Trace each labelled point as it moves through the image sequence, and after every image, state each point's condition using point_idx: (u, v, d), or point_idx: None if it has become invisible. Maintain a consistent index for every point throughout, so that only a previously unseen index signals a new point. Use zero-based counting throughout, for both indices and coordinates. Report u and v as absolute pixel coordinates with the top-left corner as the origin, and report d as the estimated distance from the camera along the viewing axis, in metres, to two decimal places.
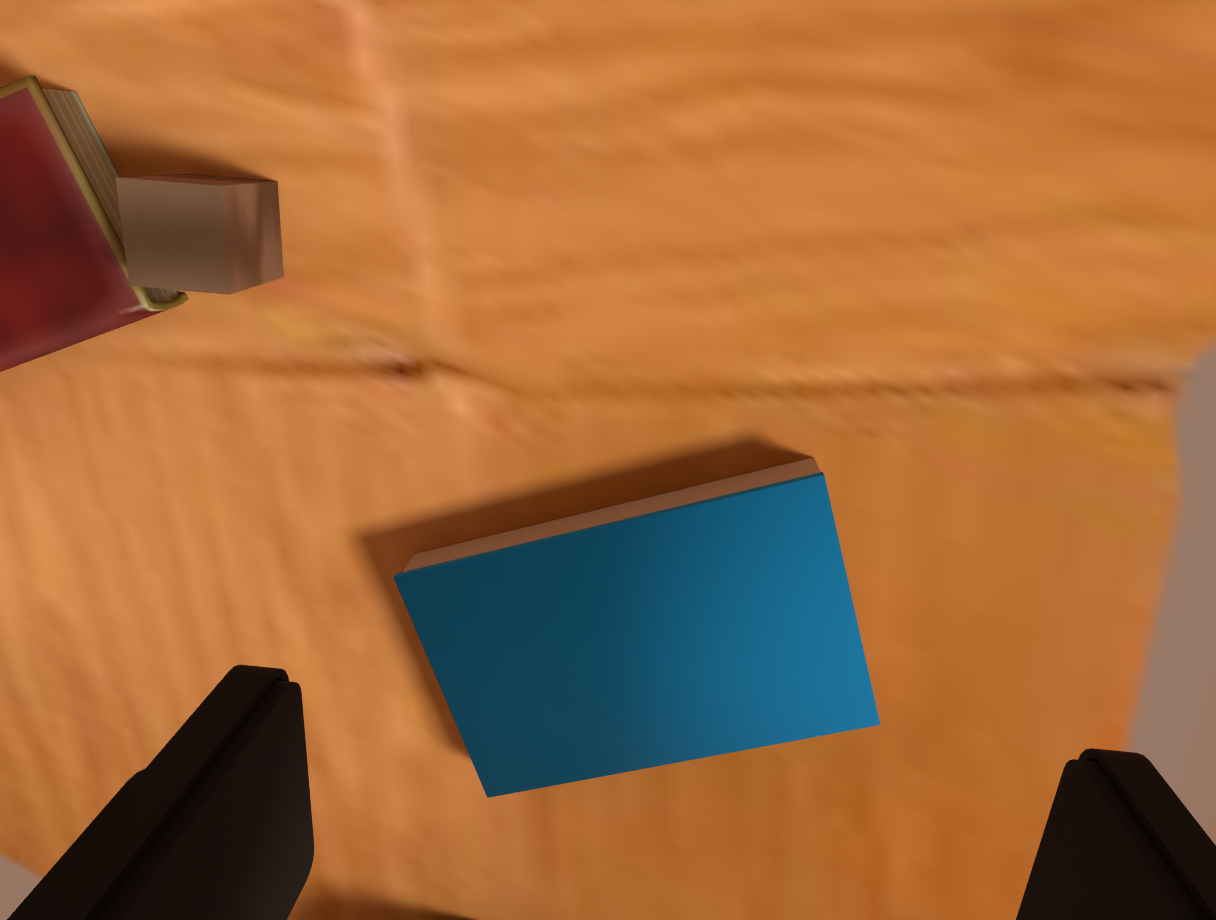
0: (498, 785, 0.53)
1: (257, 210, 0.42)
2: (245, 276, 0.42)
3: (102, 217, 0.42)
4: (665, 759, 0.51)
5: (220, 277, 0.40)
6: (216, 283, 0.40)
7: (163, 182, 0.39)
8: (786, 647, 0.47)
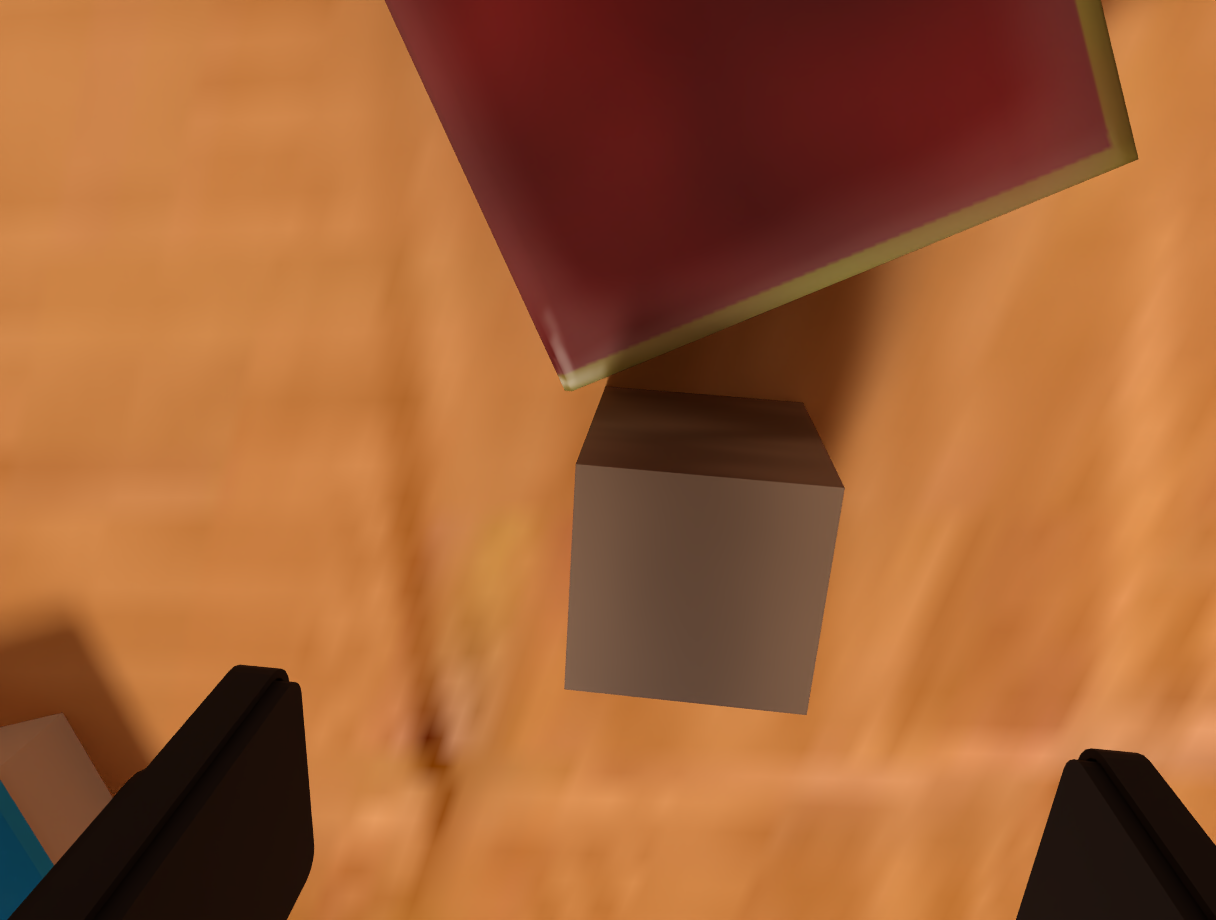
0: None
1: None
2: None
3: (779, 301, 0.17)
4: None
5: (602, 677, 0.17)
6: (589, 666, 0.17)
7: (823, 599, 0.16)
8: None
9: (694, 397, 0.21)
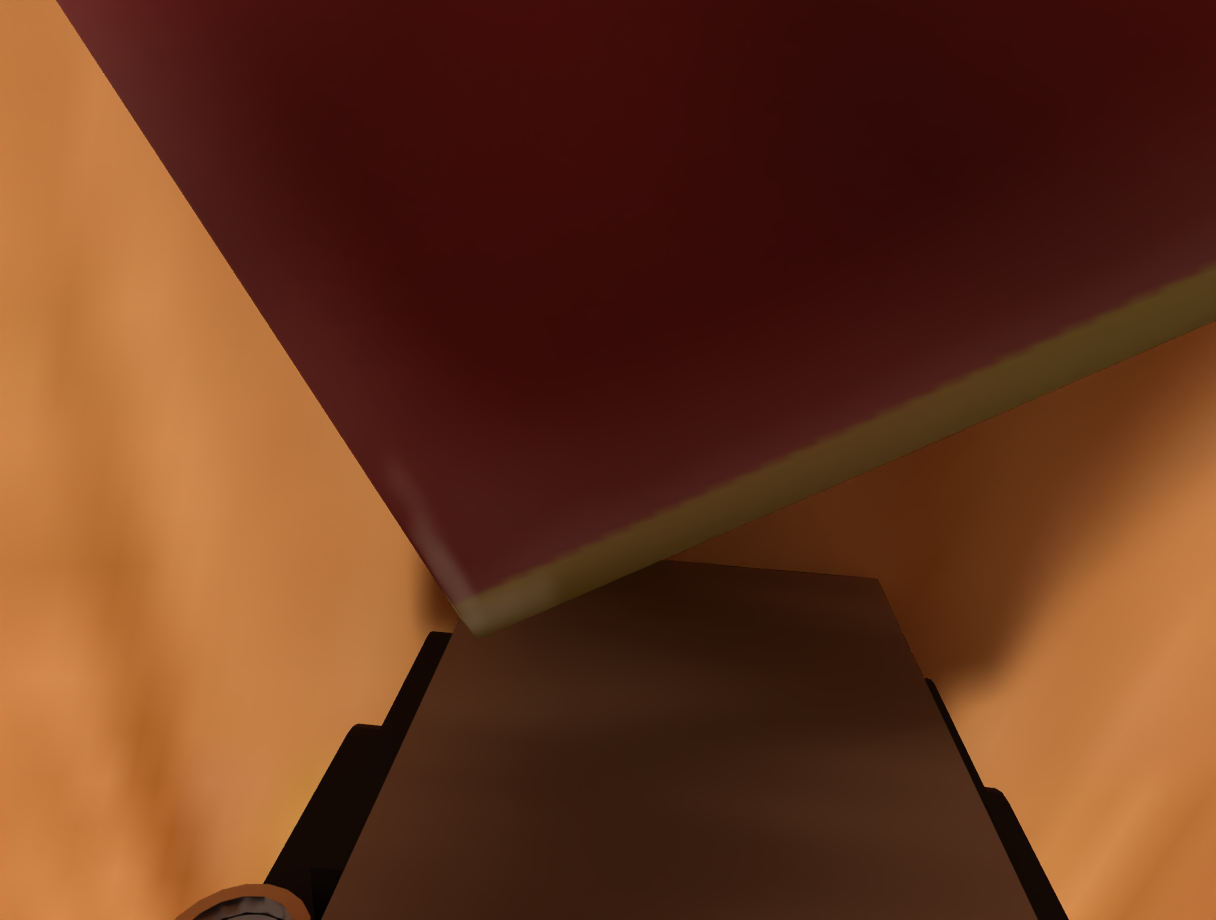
0: None
1: None
2: None
3: (991, 404, 0.06)
4: None
5: None
6: None
7: None
8: None
9: (665, 575, 0.10)
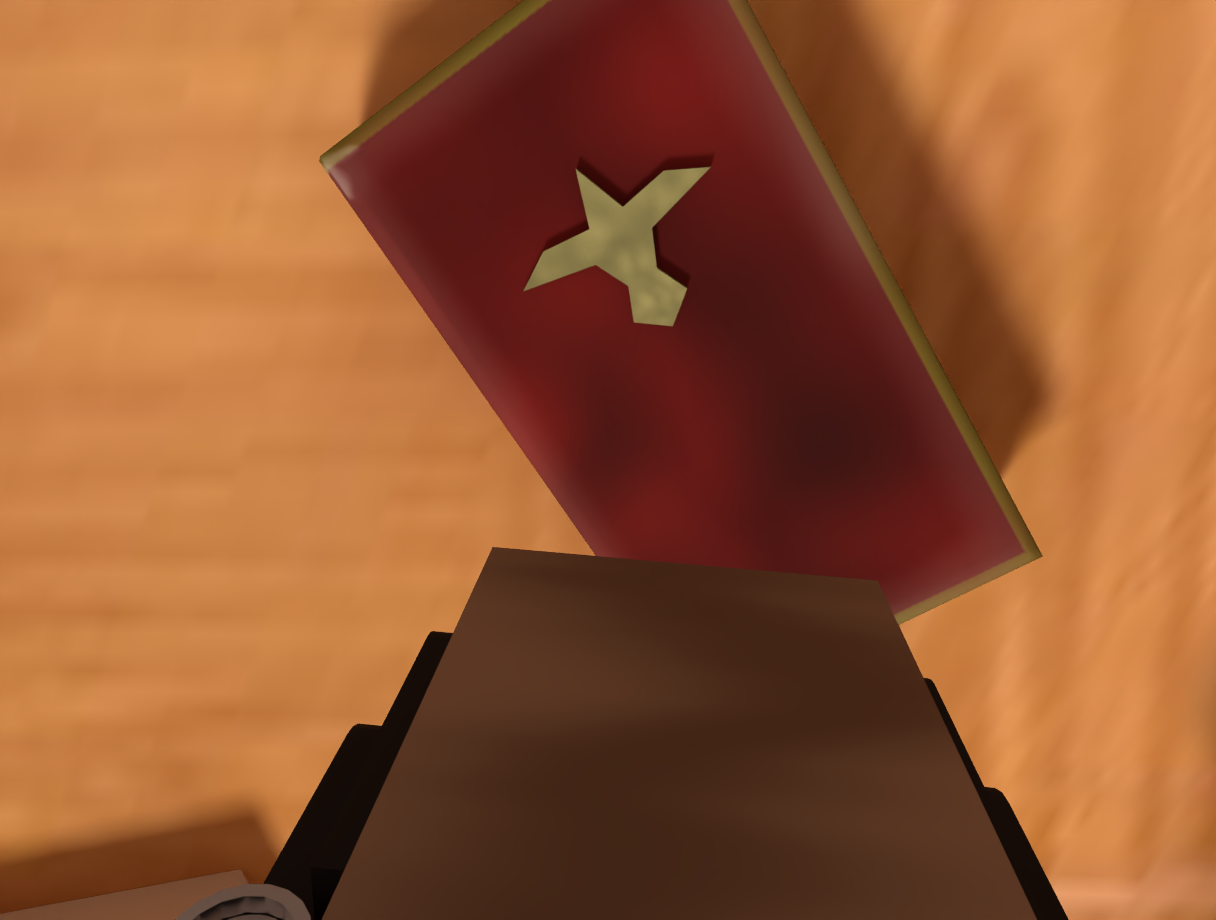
0: None
1: None
2: None
3: None
4: None
5: None
6: None
7: None
8: None
9: (664, 576, 0.10)
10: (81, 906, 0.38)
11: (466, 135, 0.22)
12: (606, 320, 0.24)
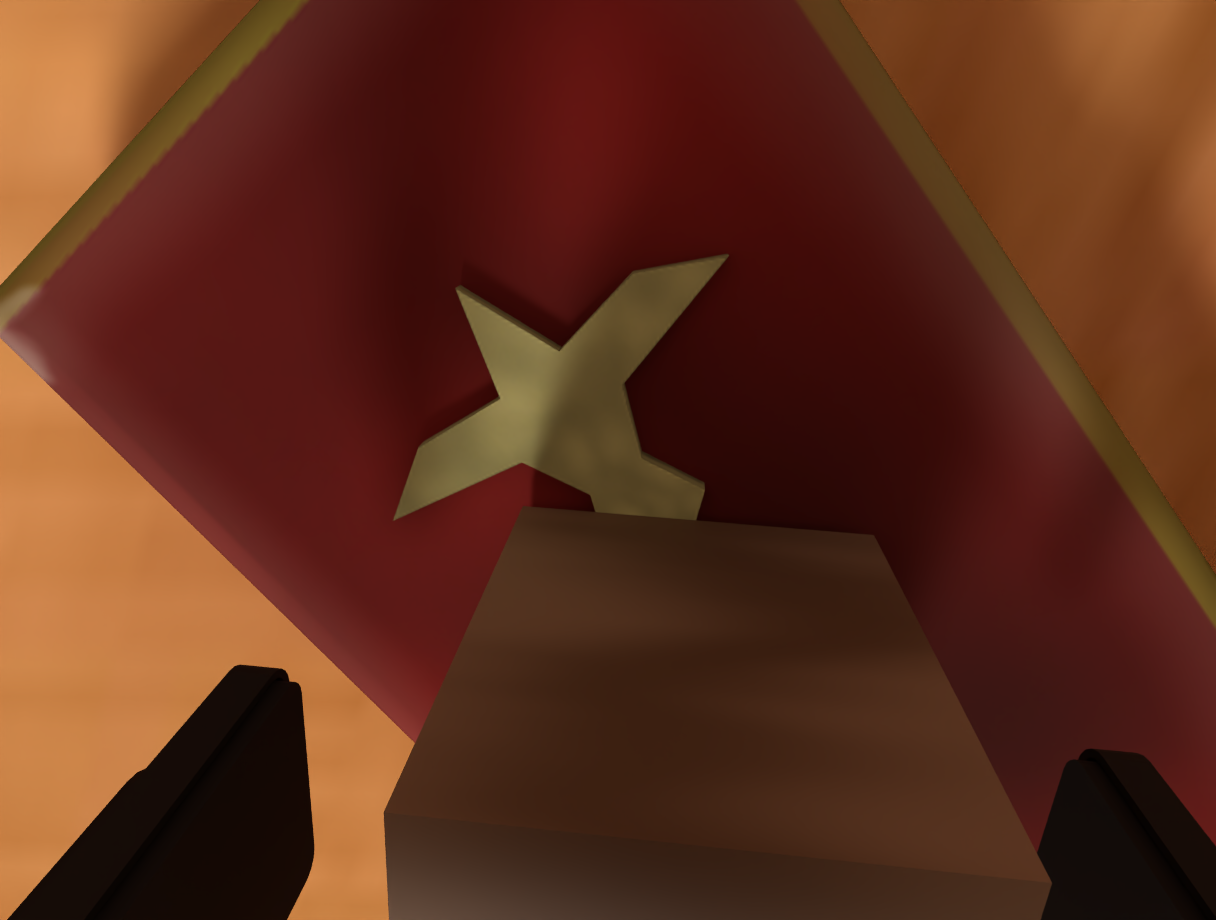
0: None
1: None
2: None
3: None
4: None
5: None
6: None
7: None
8: None
9: (680, 530, 0.12)
10: None
11: (236, 245, 0.11)
12: None
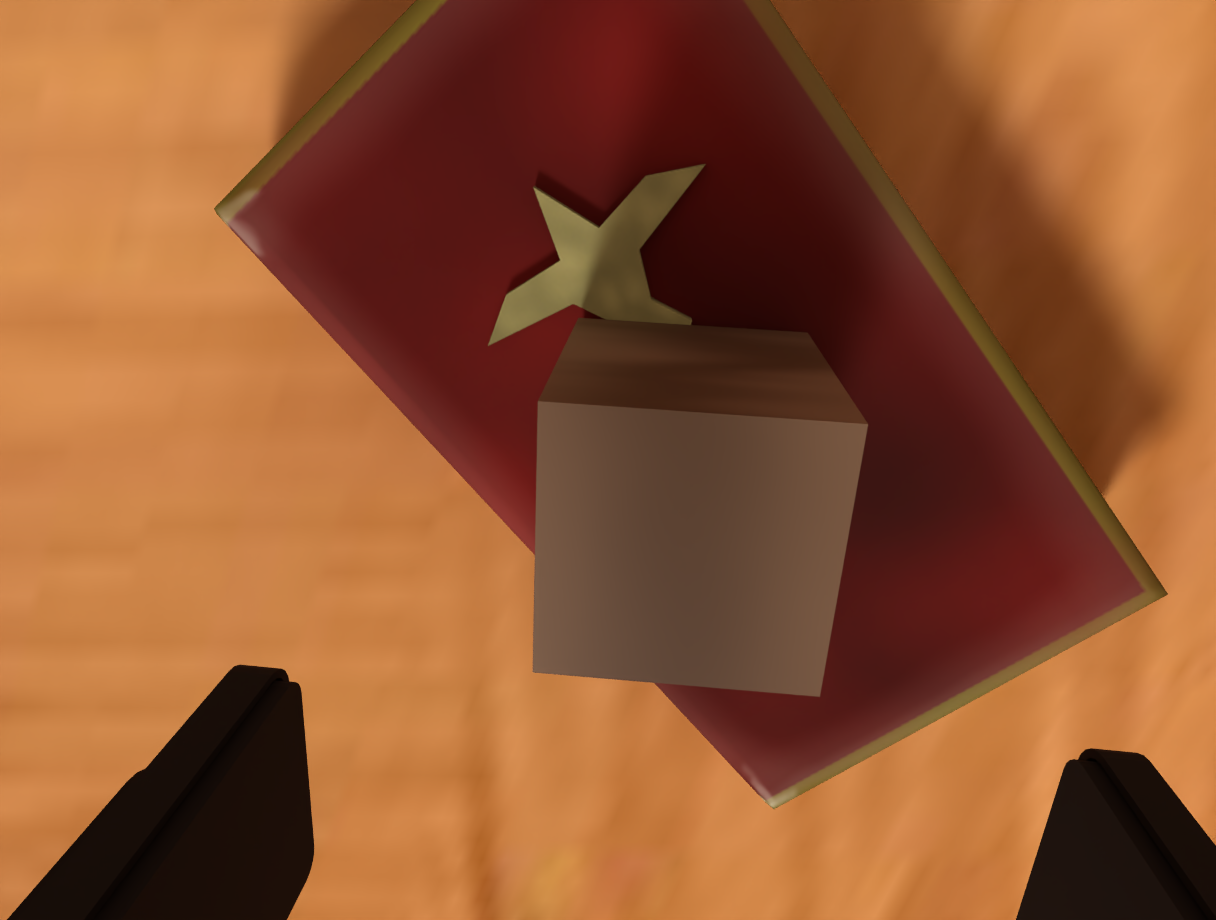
0: None
1: None
2: None
3: (917, 726, 0.22)
4: None
5: (577, 658, 0.14)
6: (561, 644, 0.14)
7: (841, 560, 0.13)
8: None
9: (682, 328, 0.18)
10: None
11: (390, 160, 0.18)
12: None
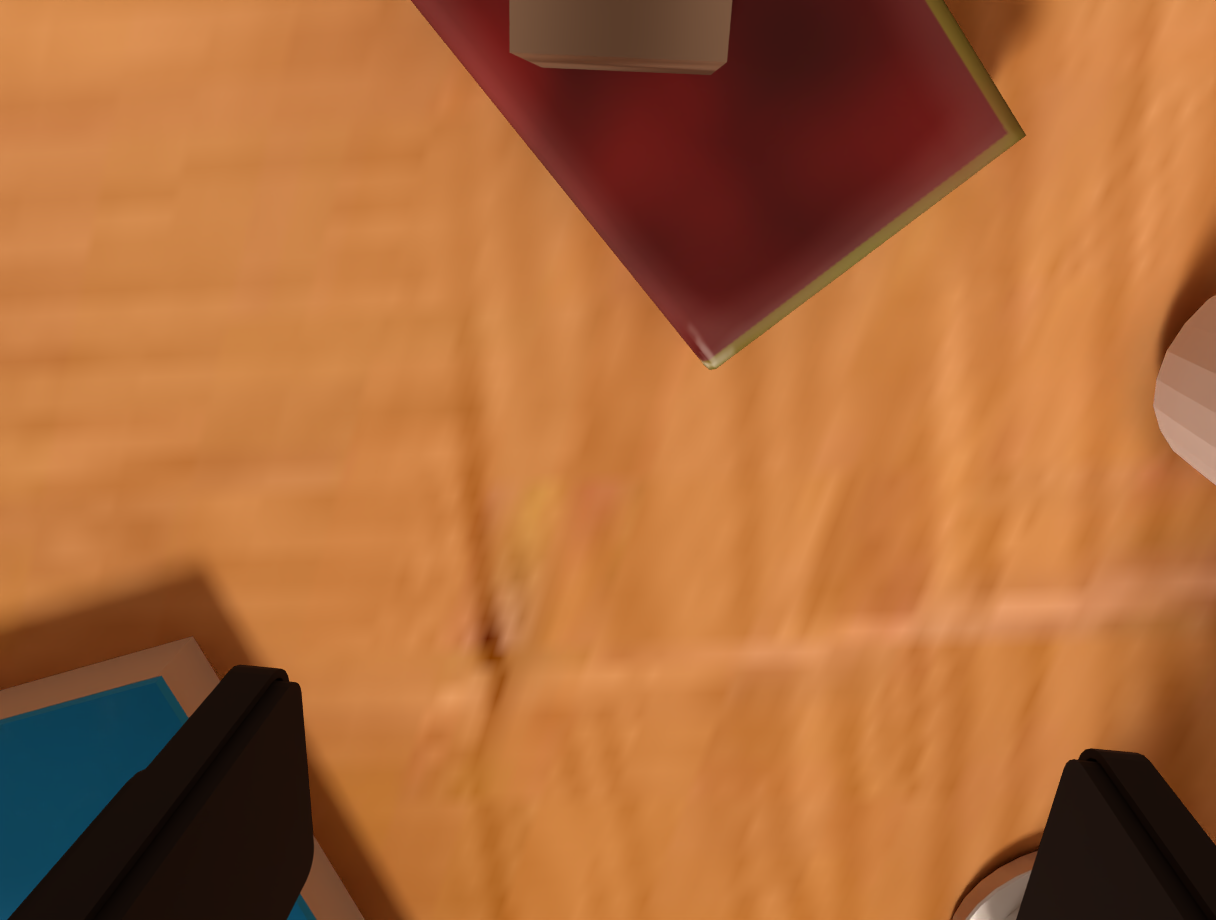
0: None
1: (666, 67, 0.22)
2: (545, 58, 0.21)
3: (831, 278, 0.27)
4: None
5: (543, 35, 0.19)
6: (531, 22, 0.19)
7: None
8: None
9: None
10: (38, 684, 0.38)
11: None
12: None
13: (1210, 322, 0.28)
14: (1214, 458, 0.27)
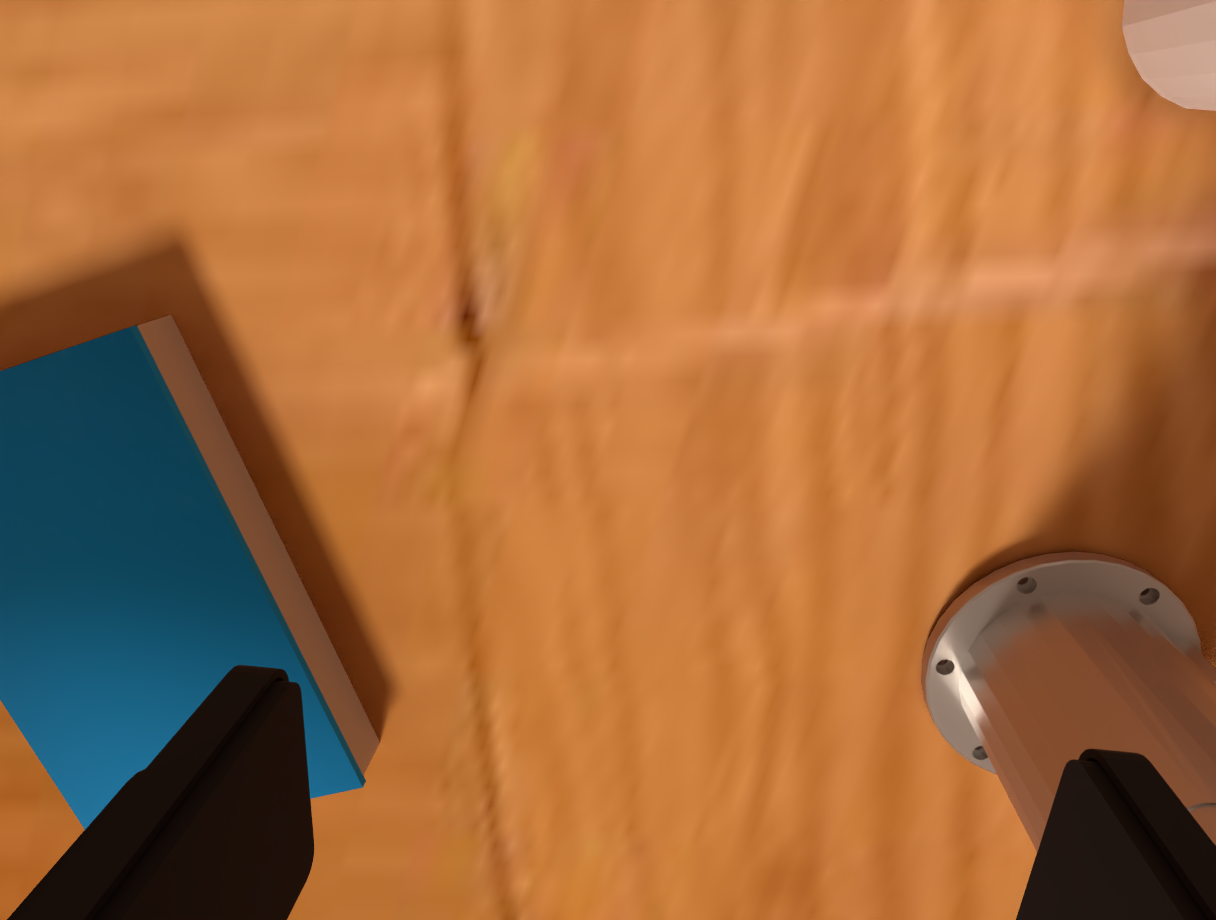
0: None
1: None
2: None
3: None
4: None
5: None
6: None
7: None
8: None
9: None
10: None
11: None
12: None
13: None
14: (1176, 28, 0.27)
